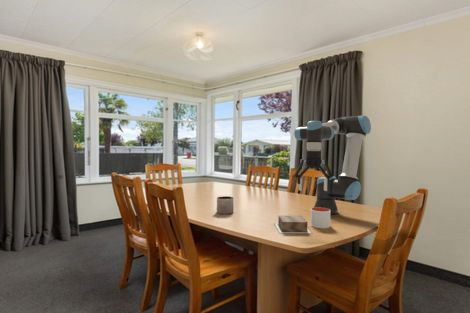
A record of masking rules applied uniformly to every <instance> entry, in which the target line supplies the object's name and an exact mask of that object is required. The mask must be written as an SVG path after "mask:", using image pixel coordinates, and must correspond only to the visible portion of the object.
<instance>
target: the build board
mask: <svg viewBox="0 0 470 313" xmlns="http://www.w3.org/2000/svg"><path fill="white" fill-rule="evenodd" d="M273 225H274V226H275V228H276V230H277V233H278V234H280V235H282V234H284V235H285V234H288V235H290V234H293V235H298V234H299V235H301V234H302V235H304V234H305V235H313V233H312V231H311V230H310V229H309V227H307V232H282V230H281V229H280V227H279V225H278V223H273Z"/></svg>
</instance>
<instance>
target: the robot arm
mask: <svg viewBox="0 0 470 313" xmlns="http://www.w3.org/2000/svg"><path fill="white" fill-rule="evenodd" d="M371 130H372V124H371V121H370V119H369V117H368V116H367V115H354V116H353V115H352V116H340V117H338V118H334V119H330V120H328V121H327V122H323V123H322V121H321V120H310V121H308V122H307V126H304V127H303V126H300V127H297V128H295V130H294V132H293V133H294V138H295V139H296V140H298V141H306V150H307V151H306V152H305V154H306V157H305V159H300V160H299V161H300V162H299V164H298V166H297V168H296V170H295V172H294V174H293V176H294V177H296V178H297V179H296V182H297V185H298V191H300V192H301V191H302V190H303V189H302V187H303V185H302V184H303V178H302V177H303V175H304V174H305V173H306V172H307V171H308V170H309V169H318V170H319V171H320V172H321V173H322V175H323V176H322V177H317V179H316V201H315V202H314V206H313V208H314V207H321V208H327V209H330V215H337V214H338V212H339V209H338V206H337V203H336V202H337V201H336V198H337V199H343V200H346V201H347V200H348V201H354V200H355V201H356V199H358V198H359V196H360V194H361V190H362V185H361V182H360V181H359V178H358V177H357V175H358V168H359V163H360V162H359V161H360V155H361V152H362V143H363V140H364V139H366V136H367V135H368V134H370V133H371ZM335 135H345V136H346V137H347V141H346V145H345V152H344V159H343V163H342V169H341V170H342V171H341V173H340V174H339V175H338V177H336V176H334V175H333V173H332V170H331V169H330V167H329V164H328V160H327V159H322V141H323V140H324V141H329V140H332V139H333V138H334V136H335ZM305 164H306V165H305ZM321 164H323V166H324V168H325V169H324V168H323V166H322V165H321ZM304 165H305V166H304ZM303 166H304V167H303ZM302 167H303V169H302ZM337 178H338V179H337Z"/></svg>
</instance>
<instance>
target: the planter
mask: <svg viewBox="0 0 470 313" xmlns="http://www.w3.org/2000/svg"><path fill="white" fill-rule="evenodd" d="M234 202H235V201H234V197H233V196H228V195H222V196H221V195H220V196H217V197H216V213H217V214H220V215H231V214H233V213H234V208H235V207H234V206H235V204H234Z"/></svg>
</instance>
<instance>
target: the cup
mask: <svg viewBox="0 0 470 313" xmlns="http://www.w3.org/2000/svg"><path fill="white" fill-rule="evenodd" d="M309 221H310V223H309V225H310V226H311V227H313V228H317V229H328V228H331V214H330V209H327V208H321V207H314V206H313V207H311V208H310V220H309Z"/></svg>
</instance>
